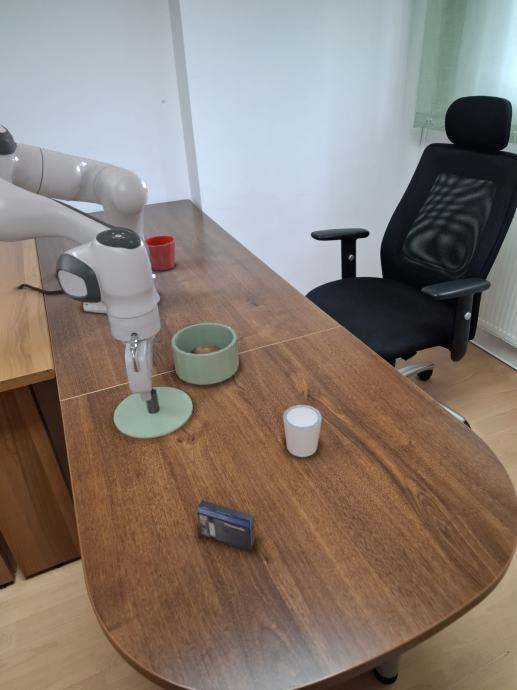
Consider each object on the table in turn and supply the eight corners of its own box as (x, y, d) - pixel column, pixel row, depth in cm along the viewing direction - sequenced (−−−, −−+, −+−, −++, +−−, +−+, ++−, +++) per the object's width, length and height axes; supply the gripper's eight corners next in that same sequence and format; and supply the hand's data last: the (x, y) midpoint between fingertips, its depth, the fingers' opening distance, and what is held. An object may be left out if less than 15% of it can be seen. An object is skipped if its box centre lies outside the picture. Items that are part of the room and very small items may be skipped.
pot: (177, 390, 101) (172, 360, 97) (175, 355, 114) (170, 326, 110) (243, 381, 103) (241, 351, 99) (234, 347, 116) (231, 319, 112)
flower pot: (141, 270, 162) (136, 243, 157) (158, 259, 170) (154, 234, 165) (167, 274, 158) (163, 246, 153) (184, 262, 167) (180, 236, 162)
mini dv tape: (200, 534, 70) (196, 507, 67) (205, 526, 71) (201, 499, 68) (251, 550, 67) (249, 523, 64) (255, 542, 68) (253, 515, 65)
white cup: (310, 464, 81) (311, 434, 78) (276, 450, 84) (275, 421, 81) (326, 441, 86) (328, 411, 82) (294, 428, 89) (294, 400, 86)
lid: (111, 446, 87) (105, 423, 84) (117, 396, 100) (112, 375, 97) (195, 433, 89) (192, 411, 86) (190, 386, 102) (187, 365, 100)
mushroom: (216, 369, 101) (209, 341, 101) (185, 377, 104) (179, 350, 104) (232, 366, 108) (225, 341, 109) (203, 374, 111) (197, 349, 112)
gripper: (152, 348, 75) (164, 415, 82) (153, 296, 92) (163, 355, 100) (112, 353, 74) (127, 420, 81) (120, 299, 91) (133, 358, 99)
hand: (147, 383), depth 91 cm, fingers open, 8 cm apart
